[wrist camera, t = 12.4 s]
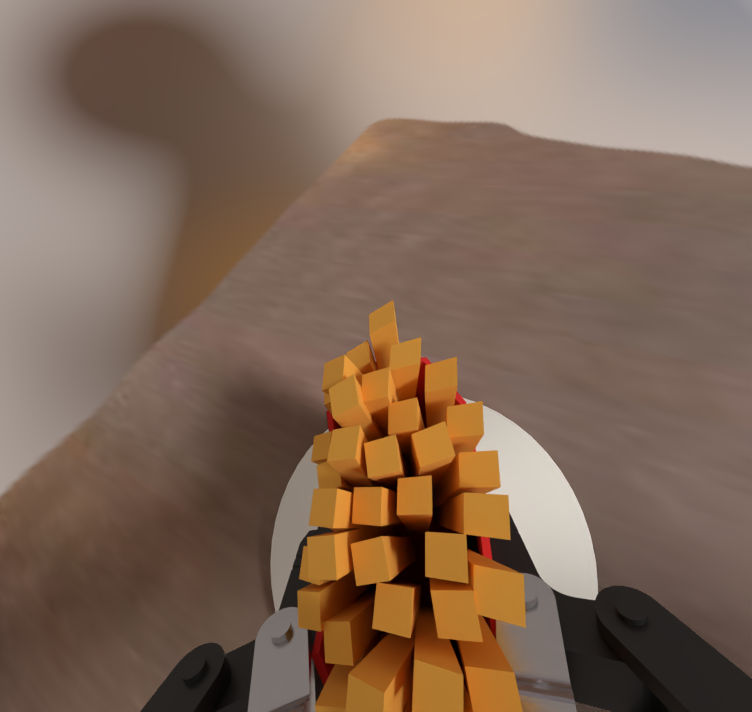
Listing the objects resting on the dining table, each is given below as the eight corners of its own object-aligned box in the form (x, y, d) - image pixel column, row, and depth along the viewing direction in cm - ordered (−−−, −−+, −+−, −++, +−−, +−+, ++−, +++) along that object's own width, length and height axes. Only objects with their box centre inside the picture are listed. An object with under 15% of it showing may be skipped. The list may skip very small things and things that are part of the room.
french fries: (377, 446, 20) (283, 298, 8) (457, 442, 19) (471, 275, 8) (379, 665, 15) (182, 975, 4) (484, 668, 14) (613, 1049, 3)
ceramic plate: (521, 379, 23) (525, 368, 21) (654, 726, 15) (674, 742, 13) (281, 427, 24) (271, 420, 23) (282, 766, 16) (267, 784, 15)
